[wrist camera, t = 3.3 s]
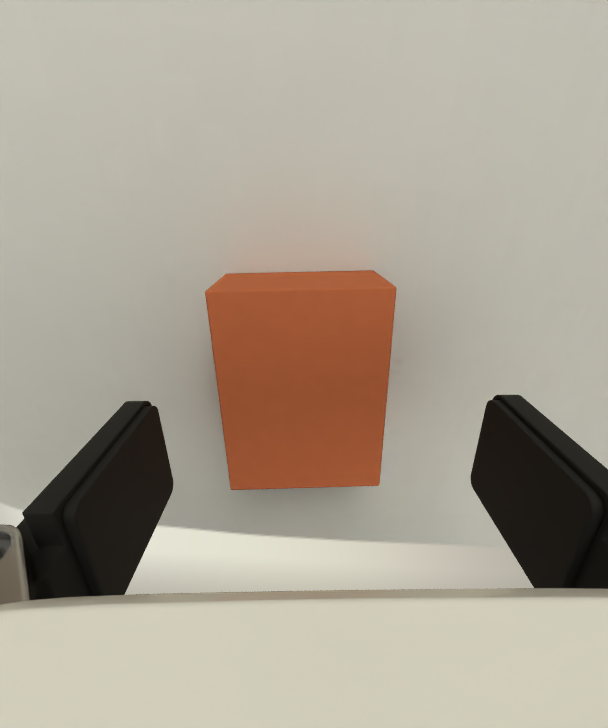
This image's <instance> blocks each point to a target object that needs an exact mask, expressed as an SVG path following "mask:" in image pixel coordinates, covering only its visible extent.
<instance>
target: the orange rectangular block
mask: <svg viewBox="0 0 608 728" xmlns="http://www.w3.org/2000/svg"><path fill="white" fill-rule="evenodd" d="M205 294H206V302H207V310H208V317H209V325H210V333H211V340H212V348H213V356H214V363H215V371H216V379H217V387H218V394H219V402H220V410H221V417H222V425H223V433H224V441H225V448H226V456H227V464H228V471H229V479H230V487H231V490H247V489H281V488H314V487H348V486H378V485H379V482H380V471H381V459H382V448H383V436H384V425H385V413H386V401H387V390H388V378H389V367H390V355H391V344H392V332H393V321H394V309H395V297H396V287H395V286H394V285H392V284H391V283H390V282H388V281H387V280H385V279H384V278H383V277H381V276H380V275H379V274H377V273H376V272H374V271H329V272H283V273H236V274H225V275H224V276H223V277H222V278H221V279H219V280H218V281H217V282H216V283H215V284H214V285H213V286H211V287H210V288H209V289H208V290H207V291H206V292H205Z"/></svg>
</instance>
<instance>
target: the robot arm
mask: <svg viewBox="0 0 608 728" xmlns="http://www.w3.org/2000/svg"><path fill="white" fill-rule="evenodd" d="M471 484H472V487H473V489H474V491H475V492H476V494H477V496H478V497H479V499H480V500H481V502H482V504H483V505H484V507H485V509H486V510H487V512H488V514H489V515H490V517H491V518H492V520H493V522H494V523H495V525H496V527H497V528H498V530H499V531H500V533H501V535H502V536H503V538H504V540H505V541H506V543H507V544H508V546H509V548H510V549H511V551H512V553H513V554H514V556H515V557H516V559H517V561H518V562H519V564H520V565H521V567H522V569H523V570H524V572H525V574H526V575H527V577H528V579H529V580H530V582H531V583H532V585H533V586H534V588H528V589H527V588H519V589H518V588H517V589H411V590H410V589H409V590H337V591H336V590H335V591H276V592H275V591H271V592H223V593H173V594H139V595H138V594H136V595H124V594H125V592H126V590H127V588H128V586H129V583H130V581H131V579H132V577H133V575H134V572H135V571H136V568H137V566H138V564H139V562H140V560H141V558H142V556H143V553H144V551H145V549H146V547H147V545H148V543H149V541H150V538H151V536H152V534H153V532H154V530H155V528H156V526H157V523H158V521H159V519H160V517H161V515H162V513H163V511H164V508H165V506H166V504H167V502H168V500H169V498H170V496H171V493H172V490H173V478H172V473H171V468H170V464H169V459H168V454H167V450H166V445H165V440H164V436H163V431H162V426H161V422H160V417H159V412H158V409H157V407H156V406H152V405H151V403H150V402H149V401H128V402H125V403H124V404H123V405H122V406H121V407H120V409H119V410H118V411H117V412H116V413H115V414H114V415H113V416H112V417H111V418H110V419H109V420H108V421H107V422H106V424H105V425H104V426H103V427H102V428H101V429H100V430H99V431H98V432H97V433H96V434H95V435H94V436H93V437H92V439H91V440H90V441H89V442H88V443H87V444H86V445H85V446H84V447H83V448H82V449H81V450H80V451H79V453H78V454H77V455H76V456H75V457H74V458H73V459H72V460H71V461H70V462H69V463H68V464H67V465H66V466H65V468H64V469H63V470H62V471H61V472H60V473H59V474H58V475H57V476H56V477H55V478H54V479H53V480H52V481H51V483H50V484H49V485H48V486H47V487H46V488H45V489H44V490H43V491H42V492H41V493H40V494H39V495H38V497H37V498H36V499H35V500H34V501H33V502H32V503H31V504H30V505H29V506H28V507H27V508H26V509H25V510H24V512H23V516H24V520H23V521H22V522H21V523H20V524H19V525H18V526H17V527H14V526H12V525H0V728H608V469H607V468H605V467H604V466H603V465H602V464H601V463H599V462H598V461H597V460H596V459H595V458H594V457H592V456H591V455H590V454H589V453H588V452H586V451H585V450H584V449H583V448H582V447H581V446H579V445H578V444H577V443H576V442H575V441H573V440H572V439H571V438H570V437H569V436H568V435H566V434H565V433H564V432H563V431H562V430H560V429H559V428H558V427H557V426H556V425H555V424H553V423H552V422H551V421H550V420H549V419H547V418H546V417H545V416H544V415H543V414H542V413H540V412H539V411H538V410H537V409H536V408H534V407H533V406H532V405H531V404H530V403H529V402H527V401H526V400H525V399H524V398H523V397H521V396H520V395H496V396H495V397H494V398H493V400H490V401H488V403H487V405H486V409H485V413H484V418H483V423H482V427H481V432H480V436H479V441H478V445H477V450H476V454H475V459H474V463H473V468H472V473H471Z"/></svg>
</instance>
